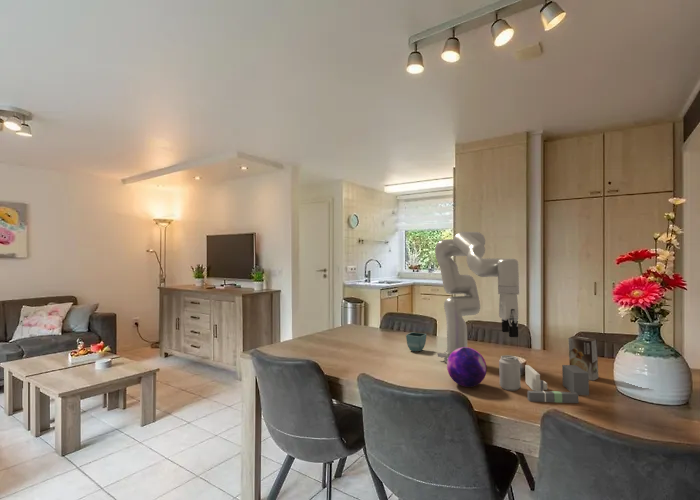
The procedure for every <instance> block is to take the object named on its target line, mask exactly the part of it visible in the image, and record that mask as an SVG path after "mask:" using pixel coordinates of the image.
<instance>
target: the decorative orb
mask: <svg viewBox="0 0 700 500" xmlns="http://www.w3.org/2000/svg"><path fill="white" fill-rule="evenodd" d="M446 369H447V373H448V375H449V377H450V378H451V380H452V381H453V382H455V383H456V384H457V385H459V386H461V387H467V388H469V387H470V388H472V387H475V386H478V385H480V384H481V383H482V382H483V381H484V379H485V378H486V375H487V362H486V360H485V358H484V356H483V355H482V354H481V353H480V352H479V351H477V350H476V349H474V348H472V347H468V346H467V347H462V348H458V349H456V350H454V351H453V352H452V353H451V354H450V356H449V358H448V361H447V363H446Z"/></svg>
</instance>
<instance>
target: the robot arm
mask: <svg viewBox="0 0 700 500" xmlns="http://www.w3.org/2000/svg"><path fill="white" fill-rule="evenodd" d="M485 245H486V239H485V236H484V234H482V233H481V232H478V231H460V232H458V233H456V234H455V235H454V237H453V238H450V239H449V238H448V239H442V240H440V241H437V243H436V245H435V248H434V249H435V250H434V252H435V253H434V254H435V255H434V256H435V259H436V262H437V263H438V266H439V270H440V275H441V279H442V280H441V281H442V285H443V290H444V292H445V293H446V294H448V295H459V296H450V297H447V298H446V299H445V301H444V303H443V307H444V308H443V309H444V313H445V322H446V349H447V350H445V351H444V352H437V357H438V358H443V361H444V363H446V364H447V361H448V358H449V356H450V354H451V353H452V352H453V351H454V350H456V349H458V348H462V347H468V327H467V322H466V321H465V320H464V317H465V316H466V317H467V316H476V315H478V314H479V313H480V311H481V302H480V297H479V292H478V287H477V283H476V281H475V278H474V277H473V276H472V275H470V274H460V273H459V267H458V265H457V263H456V261H454V259H453V258H452V257H466V263H467V267H468V268H469V270H471V272H472V273H474V274H475V275H477V277H481V278H488V277H489V278H490V277H491V278H493V277H494V278H496V277H497V291H498V293H497V294H498V295H499V297H498V298H499V299H498V300H499V303H498V316H499V318H500V319H501V332H502V333H508V337H509V338H519V321H518V320H519V301H518V295H520V281H519V280H520V279H519V278H520V276H519V275H520V274H519V261H518V260H517V259H515V258H502V257H501V258H495V257H494V258H490V257H489V258H483V256H484V255H485V253H486V247H485ZM460 295H461V296H460Z"/></svg>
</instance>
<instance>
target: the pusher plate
mask: <svg viewBox="0 0 700 500" xmlns="http://www.w3.org/2000/svg"><path fill="white" fill-rule="evenodd" d="M524 368H525V370H524V372H525V373H524V374H525V377H524V379H525V380H524V381H525V384H526V385H527V386H528V388H530V389H531V391H548V382H546V381H545V380H543V379H542V380H541V374H540V373H539V372H538V371H536V369H534V368H533V367H532V366H531V365H529V364H525V365H524Z"/></svg>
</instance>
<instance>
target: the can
mask: <svg viewBox="0 0 700 500" xmlns="http://www.w3.org/2000/svg"><path fill="white" fill-rule="evenodd" d="M498 365H499V367H498V369H499V370H498V371H499V386H500V387H501V388H502V389H503V390H505V391H511V392H514V391H515V392H516V391H518V390H519V389H521V362H520V360H519V358H518V357H517V356H515V355H508V354H507V355H500V359H499V360H498Z"/></svg>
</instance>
